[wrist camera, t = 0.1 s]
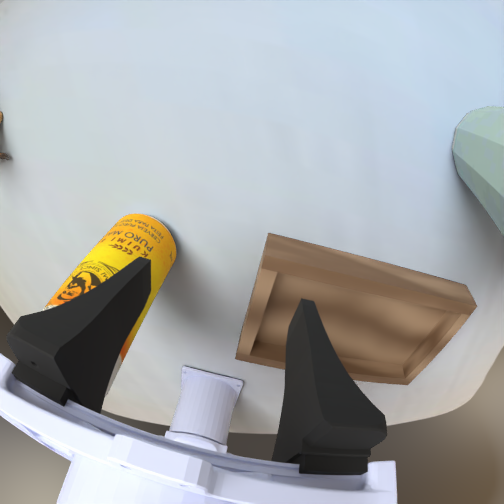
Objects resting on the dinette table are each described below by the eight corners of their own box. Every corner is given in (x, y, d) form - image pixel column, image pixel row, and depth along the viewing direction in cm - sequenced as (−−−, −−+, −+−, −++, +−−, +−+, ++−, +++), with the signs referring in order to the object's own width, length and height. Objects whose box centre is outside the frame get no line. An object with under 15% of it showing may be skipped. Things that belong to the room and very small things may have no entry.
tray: (403, 364, 31) (407, 385, 28) (239, 336, 31) (235, 359, 28) (465, 285, 23) (477, 306, 21) (268, 232, 23) (264, 254, 21)
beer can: (172, 208, 23) (68, 362, 11) (185, 269, 27) (117, 420, 14) (110, 209, 24) (-1, 336, 12) (127, 266, 27) (48, 394, 15)
